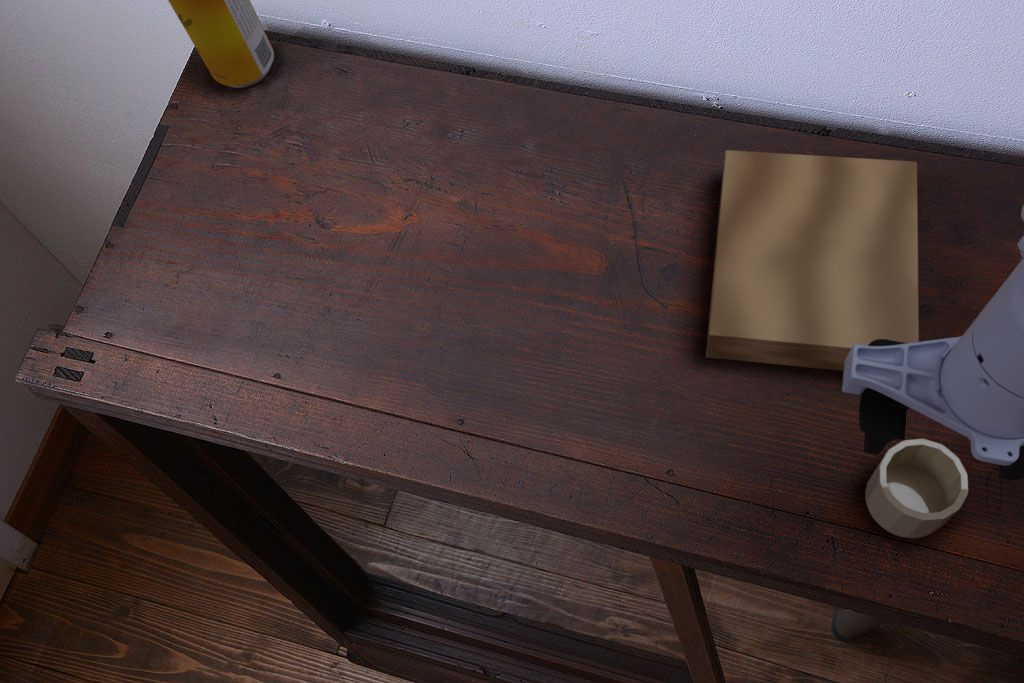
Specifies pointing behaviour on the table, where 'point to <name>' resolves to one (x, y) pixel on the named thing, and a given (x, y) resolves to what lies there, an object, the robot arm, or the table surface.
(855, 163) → the square wooden board
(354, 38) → the table surface
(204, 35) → the beer can
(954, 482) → the ramekin
